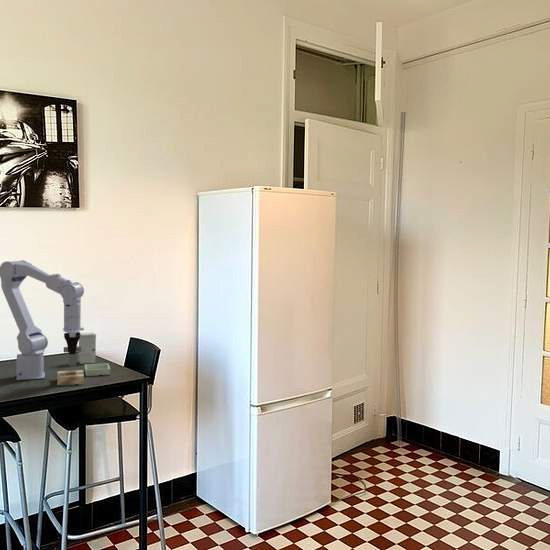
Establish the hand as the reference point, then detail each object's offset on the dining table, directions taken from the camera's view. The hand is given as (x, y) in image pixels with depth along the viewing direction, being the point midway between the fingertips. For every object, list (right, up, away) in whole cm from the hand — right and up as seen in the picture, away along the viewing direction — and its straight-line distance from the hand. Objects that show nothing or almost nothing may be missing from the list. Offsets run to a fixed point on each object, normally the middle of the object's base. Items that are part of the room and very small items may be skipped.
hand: (72, 353), depth 214 cm
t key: (0, -4, 0) cm, 4 cm away
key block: (-1, -10, 0) cm, 10 cm away
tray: (+5, -10, +14) cm, 18 cm away
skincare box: (-4, -8, +31) cm, 32 cm away
